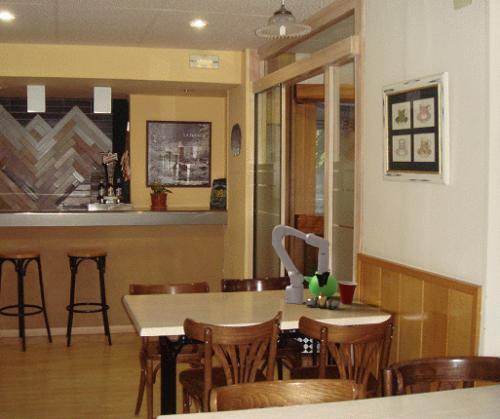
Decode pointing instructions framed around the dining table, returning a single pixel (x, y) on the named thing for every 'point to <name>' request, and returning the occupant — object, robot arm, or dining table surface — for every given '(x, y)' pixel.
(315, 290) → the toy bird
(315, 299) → the grey metal fittings
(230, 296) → the dining table surface
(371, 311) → the dining table surface
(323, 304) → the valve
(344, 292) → the plastic cup
